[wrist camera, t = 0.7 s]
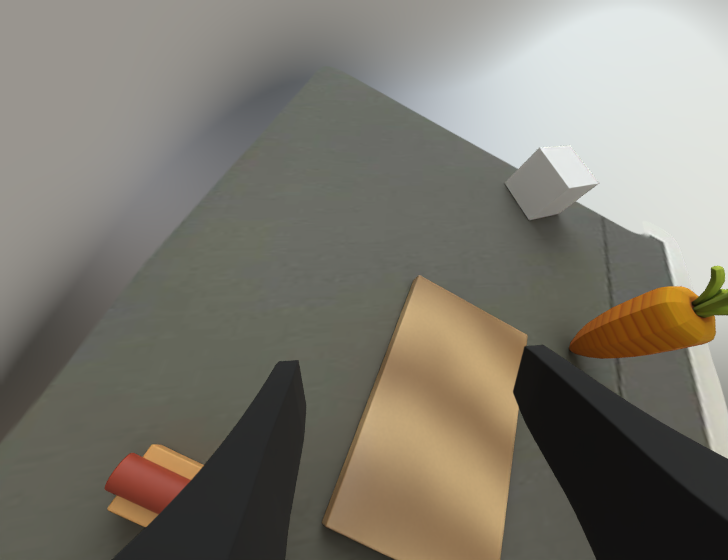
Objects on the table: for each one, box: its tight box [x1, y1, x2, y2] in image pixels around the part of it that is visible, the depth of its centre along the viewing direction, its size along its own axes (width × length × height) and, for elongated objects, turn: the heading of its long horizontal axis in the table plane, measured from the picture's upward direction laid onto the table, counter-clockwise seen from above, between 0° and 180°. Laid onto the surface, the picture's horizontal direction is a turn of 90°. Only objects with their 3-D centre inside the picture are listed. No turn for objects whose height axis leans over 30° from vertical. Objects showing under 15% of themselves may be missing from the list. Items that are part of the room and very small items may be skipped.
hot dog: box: [105, 444, 204, 527], centre depth 18 cm, size 3×9×3 cm, turn 68°
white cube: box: [505, 145, 599, 220], centre depth 41 cm, size 6×6×6 cm
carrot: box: [569, 266, 728, 359], centre depth 27 cm, size 5×5×15 cm
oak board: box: [322, 275, 527, 560], centre depth 26 cm, size 20×12×1 cm, turn 158°
